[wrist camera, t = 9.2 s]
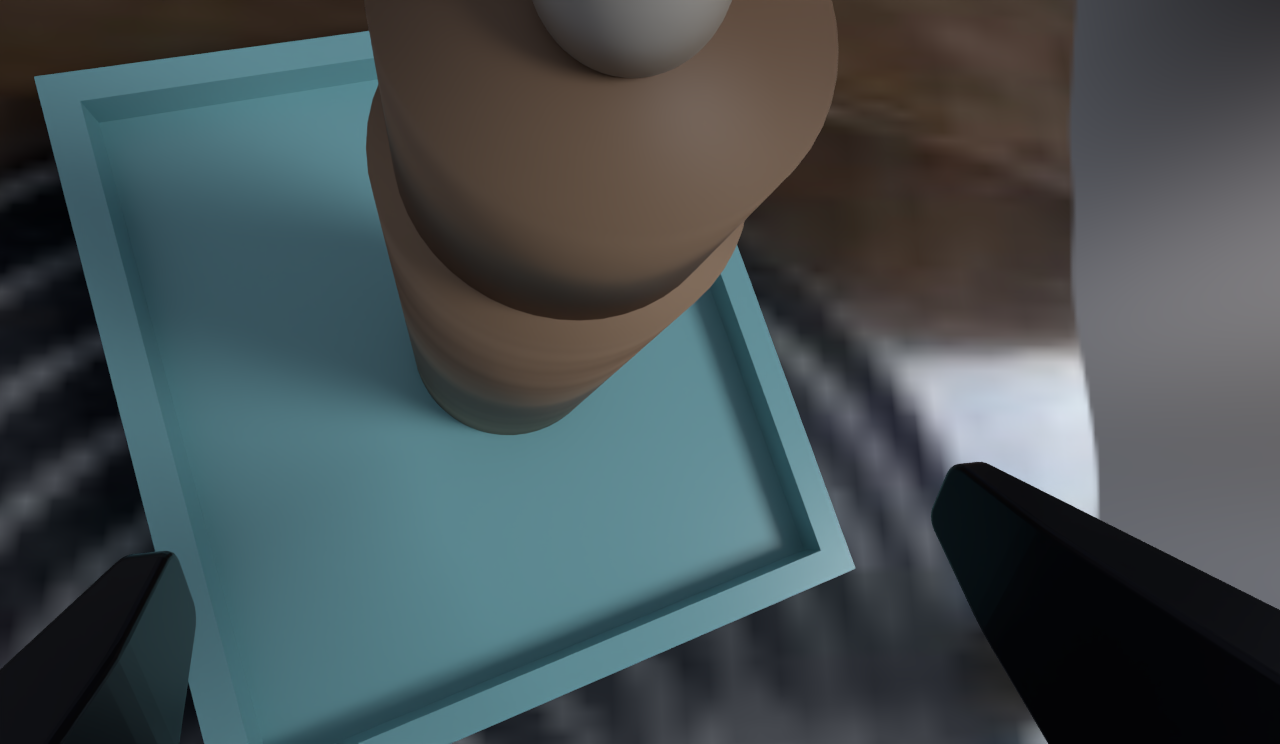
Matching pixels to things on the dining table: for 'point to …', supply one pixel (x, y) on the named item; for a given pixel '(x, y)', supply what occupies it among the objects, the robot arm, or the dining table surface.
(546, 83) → the pepper mill
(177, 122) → the teal tray
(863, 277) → the dining table surface
